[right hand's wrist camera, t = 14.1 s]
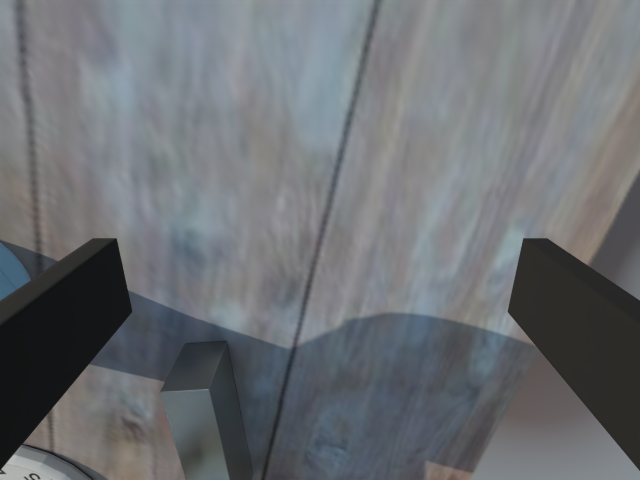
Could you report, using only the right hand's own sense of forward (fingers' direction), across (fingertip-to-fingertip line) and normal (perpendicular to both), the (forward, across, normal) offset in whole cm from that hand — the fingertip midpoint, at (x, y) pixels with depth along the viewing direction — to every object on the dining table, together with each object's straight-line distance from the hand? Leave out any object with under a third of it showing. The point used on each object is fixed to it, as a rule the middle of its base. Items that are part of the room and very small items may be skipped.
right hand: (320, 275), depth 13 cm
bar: (+30, -14, -38) cm, 51 cm away
